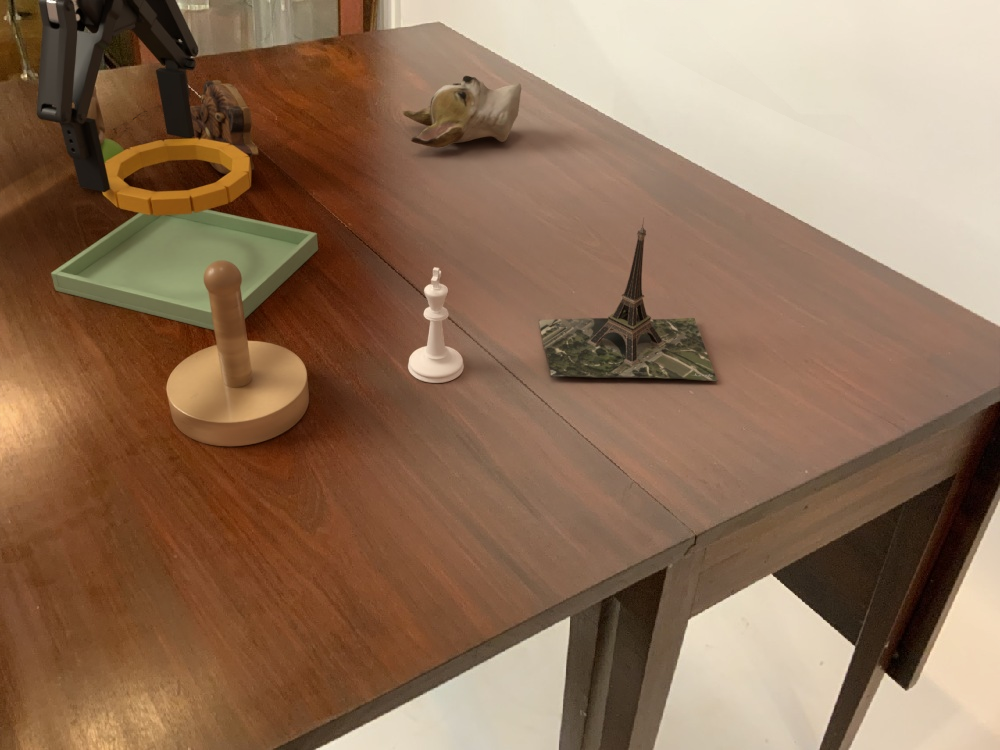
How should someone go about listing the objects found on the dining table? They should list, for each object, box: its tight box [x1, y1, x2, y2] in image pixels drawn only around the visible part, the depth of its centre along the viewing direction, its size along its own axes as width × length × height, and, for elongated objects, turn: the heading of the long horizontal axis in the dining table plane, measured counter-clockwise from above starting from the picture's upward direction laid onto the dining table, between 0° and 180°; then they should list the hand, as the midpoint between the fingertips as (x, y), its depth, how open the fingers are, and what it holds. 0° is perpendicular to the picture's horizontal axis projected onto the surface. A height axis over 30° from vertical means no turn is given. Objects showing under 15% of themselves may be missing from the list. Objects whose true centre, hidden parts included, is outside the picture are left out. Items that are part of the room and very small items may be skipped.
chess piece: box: [407, 266, 465, 384], centre depth 83 cm, size 5×5×10 cm
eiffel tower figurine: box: [538, 217, 718, 382], centre depth 86 cm, size 15×10×13 cm
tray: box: [50, 209, 319, 331], centre depth 97 cm, size 19×17×2 cm
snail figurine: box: [87, 86, 125, 163], centre depth 109 cm, size 5×6×12 cm
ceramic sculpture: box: [402, 75, 522, 148], centre depth 125 cm, size 11×9×15 cm
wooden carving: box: [190, 79, 259, 175], centre depth 114 cm, size 16×5×10 cm, turn 38°
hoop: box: [102, 137, 252, 216], centre depth 92 cm, size 13×13×2 cm
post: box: [166, 260, 310, 447], centre depth 77 cm, size 11×11×13 cm
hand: (140, 160), depth 92 cm, fingers closed on hoop, 12 cm apart
